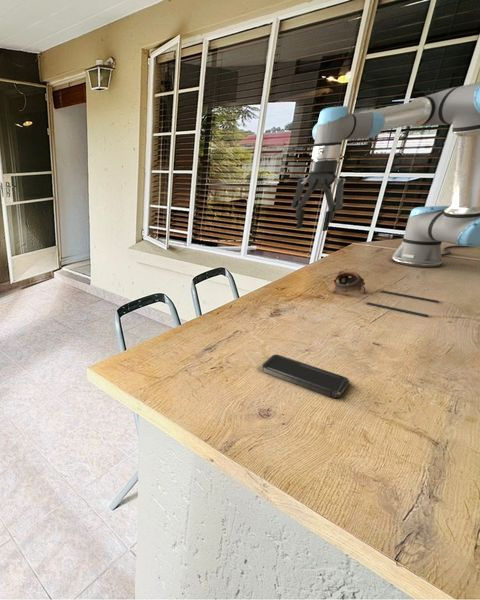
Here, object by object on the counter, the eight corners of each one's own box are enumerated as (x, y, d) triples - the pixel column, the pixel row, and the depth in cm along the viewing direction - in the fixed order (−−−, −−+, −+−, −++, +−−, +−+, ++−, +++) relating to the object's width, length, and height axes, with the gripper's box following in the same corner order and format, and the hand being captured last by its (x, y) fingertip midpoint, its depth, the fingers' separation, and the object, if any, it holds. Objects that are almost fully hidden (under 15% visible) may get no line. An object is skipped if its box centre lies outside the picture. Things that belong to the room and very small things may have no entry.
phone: (339, 395, 68) (260, 366, 79) (338, 400, 68) (259, 370, 79) (351, 378, 73) (275, 353, 83) (349, 383, 73) (274, 357, 84)
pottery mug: (373, 297, 115) (370, 279, 111) (341, 308, 118) (338, 291, 114) (352, 278, 125) (349, 260, 121) (323, 288, 128) (319, 272, 124)
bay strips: (381, 291, 119) (382, 290, 119) (438, 301, 109) (438, 300, 108) (366, 304, 110) (366, 303, 110) (427, 317, 99) (427, 316, 99)
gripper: (286, 161, 121) (276, 227, 129) (358, 158, 105) (341, 234, 114) (296, 160, 125) (285, 225, 133) (366, 158, 110) (349, 230, 118)
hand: (311, 229), depth 123 cm, fingers open, 8 cm apart
